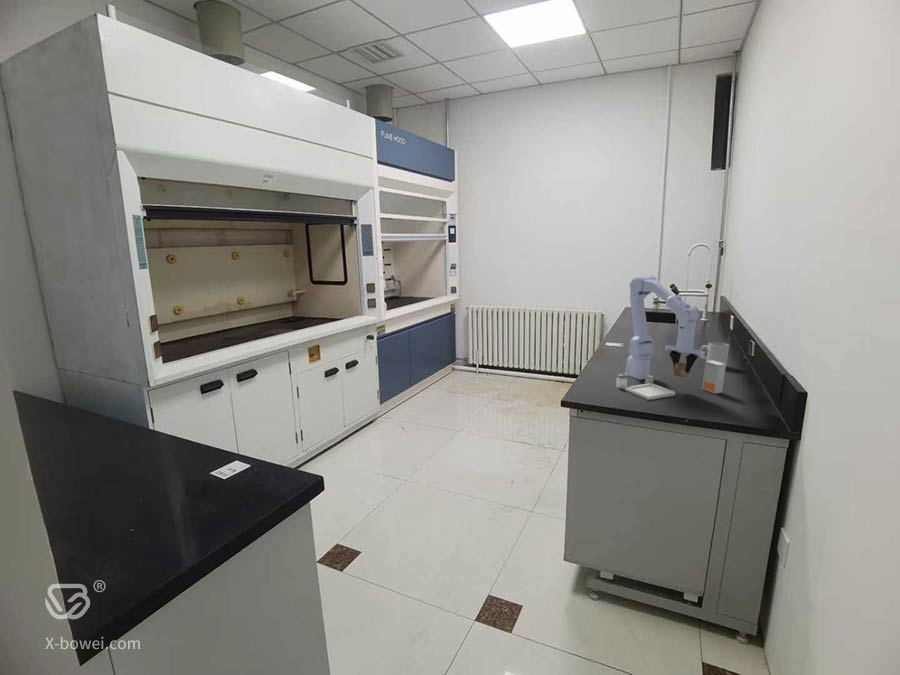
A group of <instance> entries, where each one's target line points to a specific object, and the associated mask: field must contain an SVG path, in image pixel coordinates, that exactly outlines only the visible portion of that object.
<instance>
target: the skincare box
mask: <svg viewBox="0 0 900 675" xmlns="http://www.w3.org/2000/svg"><path fill="white" fill-rule="evenodd" d="M725 367H726V368H727V366H726V364H724V363H721V362H717V361H713V360H711V361H706V360H705V364H704V369H703V370H704V371H703V379H702V384H701V385H702V386H701V389H702V390H704V391H707V392H709V393H712V394H721V393H723V388H724V379H725V374H726V373H725V372H726V368H725Z"/></svg>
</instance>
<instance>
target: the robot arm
mask: <svg viewBox="0 0 900 675" xmlns="http://www.w3.org/2000/svg"><path fill="white" fill-rule="evenodd" d="M629 291H630V292H629V293H630V295H629V302H630V308H631V309H630V311H631V316H632V317H631V319H632V325H633V327H632V328H633V335H634V336H633V337H632V338H631V339H630V340H629V349H628V351H629V354H630V355H629V356H628V357H627V358H626V361H625V362H626V363H625V364H626V365H625V372H624V373H623V374H626V375H628V377H631V378H634V379H636V380H637V379H638V380H645V379H646V377H652V378H653V379H654V376H652V375H650V365H651V358H652V356H653V355H654V354H656V353H655V352H656V346H655V343H654V341H653V338H652V337H651V336H650V335H649V334H648V325H647V317H646V315H647V314H646V307H645V299H646V298H647V296H648V295H650V294H651V293H653V294H654V295H656V296H657V297H658V298H660V299H661V300H663V301H664V302H665V307H667V308H668V309H669V310H670V311H671V312H672V313H673V314H675V315H676V319H677V326H678V330H677V331H678V332H677V339H676V345H669V344H666V345H665V346H664V350H665V351H667V352H669V351H670V352H669V356H670V359H671V361H672V364H673V365H672V366H673V371H674V370H675V363H678V362H680V360H681V355H682V354H685V355H686V356H685V359H686V362H685V363H686V373H689V374H690V373H691V370H692V367H693V365H694V364H695V362H696V360H697V359H698V358H701V357H704V356H706V355H705V354H706V353H705V352H706V351H703V350H702V351H700V349H695V348H694V341H695V332H696V325H697V324H696V323H697V321H699V320H700V318H701V311H700V310H699V308H698V307H697V306H691V305H690V304H689V303H687V302H686V301H684V300H683V299H682V296H681V295H673V294H672V293H670V291H668V290H667V289H666V288H665V286H664V285H662V284H661V283H660V280H659V279H657V278H656V277H655V276H653V275H651V276H643V277H641V276H639V277H638V276H636V277H633V279H632V280H631V281H630V282H629Z"/></svg>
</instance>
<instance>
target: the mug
mask: <svg viewBox="0 0 900 675" xmlns="http://www.w3.org/2000/svg"><path fill="white" fill-rule="evenodd" d="M704 349H706V350H707V352H706V353H707V355H704V357H700V358H701V359H702V360H705V362H706V361H711V360H713V361H717V362H721V363H724V364H726V367H725V369H727V364H728V357H729V350H730V344H728V343H726V342H721V341H720V342H719V341H712V342H708V345H707V344H706V345H705V344H703V345H702V346H701V347H700V349H699V351H703V350H704Z"/></svg>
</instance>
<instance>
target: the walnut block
mask: <svg viewBox="0 0 900 675" xmlns="http://www.w3.org/2000/svg"><path fill="white" fill-rule="evenodd" d="M673 376H675V377H679V378H684V379H685V378H687V377H689V376H690V372H689V373H686V362H684V361H683V362H682V361H679V362H678V363H675V370H674V369H673Z"/></svg>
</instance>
